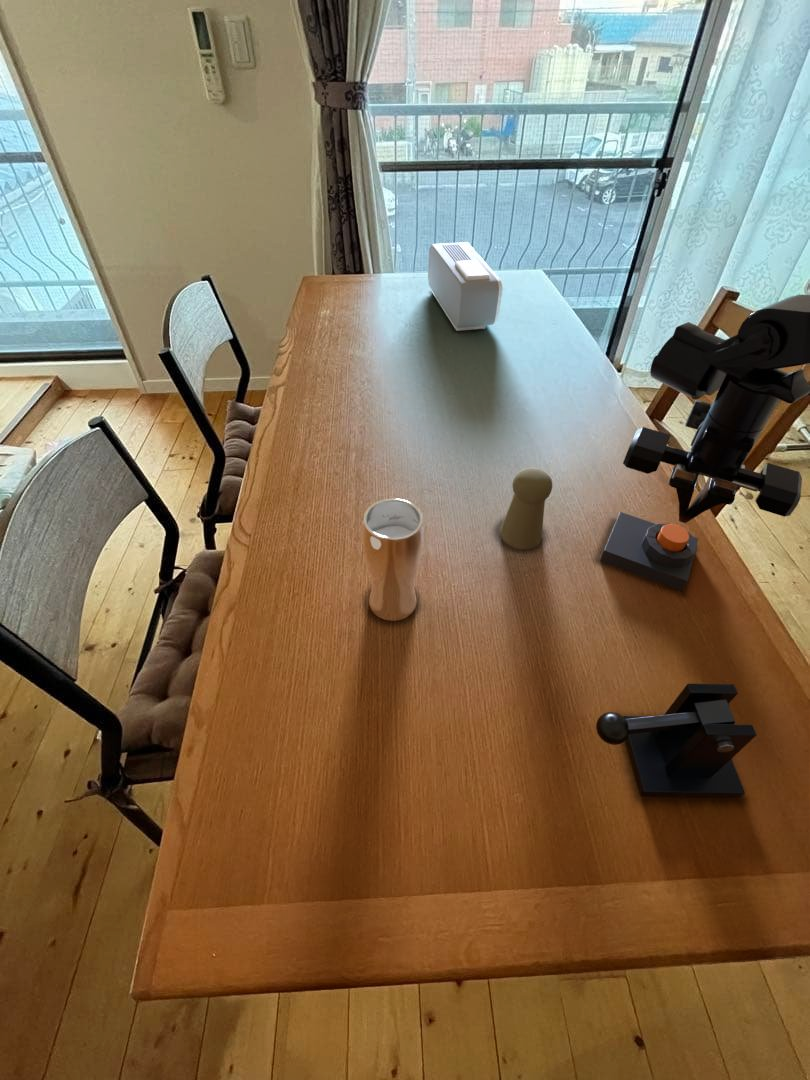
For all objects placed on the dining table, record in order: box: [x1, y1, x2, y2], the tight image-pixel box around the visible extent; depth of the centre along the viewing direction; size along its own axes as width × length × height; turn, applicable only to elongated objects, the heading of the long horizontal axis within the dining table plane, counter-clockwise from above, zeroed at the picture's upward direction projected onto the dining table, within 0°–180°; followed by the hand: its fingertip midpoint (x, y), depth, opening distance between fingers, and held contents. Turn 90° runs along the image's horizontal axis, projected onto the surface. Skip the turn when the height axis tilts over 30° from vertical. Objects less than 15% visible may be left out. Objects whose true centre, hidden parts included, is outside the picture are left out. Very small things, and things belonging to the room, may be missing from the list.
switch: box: [595, 699, 736, 746], centre depth 52 cm, size 12×3×3 cm, turn 89°
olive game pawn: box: [499, 467, 553, 550], centre depth 77 cm, size 6×6×11 cm
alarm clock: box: [427, 241, 504, 332], centre depth 129 cm, size 27×9×12 cm, turn 13°
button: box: [657, 523, 690, 552], centre depth 74 cm, size 4×4×2 cm
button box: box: [599, 511, 699, 592], centre depth 77 cm, size 11×9×4 cm
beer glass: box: [362, 498, 425, 622], centre depth 66 cm, size 7×7×15 cm
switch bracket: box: [622, 682, 757, 799], centre depth 54 cm, size 10×8×11 cm
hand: (682, 520), depth 72 cm, fingers closed
